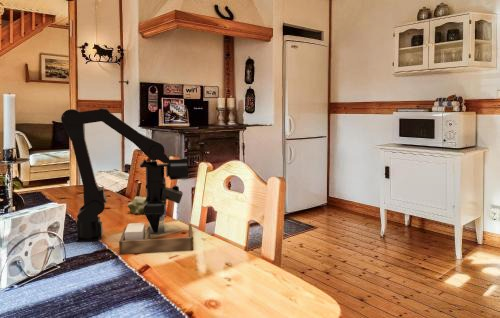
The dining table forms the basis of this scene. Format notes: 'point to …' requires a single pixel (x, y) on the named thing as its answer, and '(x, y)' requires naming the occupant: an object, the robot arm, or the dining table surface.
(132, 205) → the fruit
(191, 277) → the dining table surface
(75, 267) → the dining table surface
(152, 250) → the crate
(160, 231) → the clear glass jar
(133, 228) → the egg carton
